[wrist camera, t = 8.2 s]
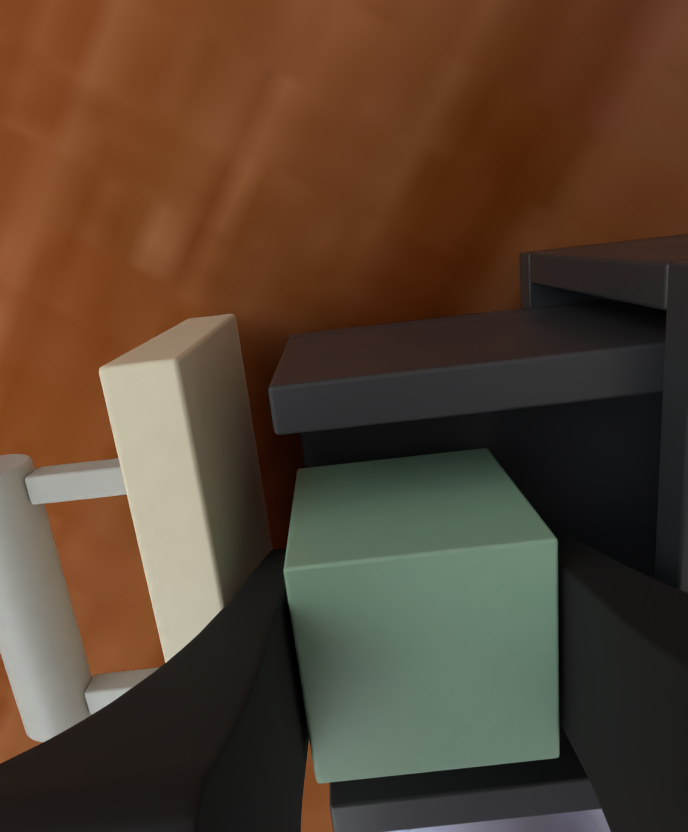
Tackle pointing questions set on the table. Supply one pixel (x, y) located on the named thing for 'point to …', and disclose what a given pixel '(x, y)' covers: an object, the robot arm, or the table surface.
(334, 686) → the block
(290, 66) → the table surface
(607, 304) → the drawer
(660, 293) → the small cabinet
